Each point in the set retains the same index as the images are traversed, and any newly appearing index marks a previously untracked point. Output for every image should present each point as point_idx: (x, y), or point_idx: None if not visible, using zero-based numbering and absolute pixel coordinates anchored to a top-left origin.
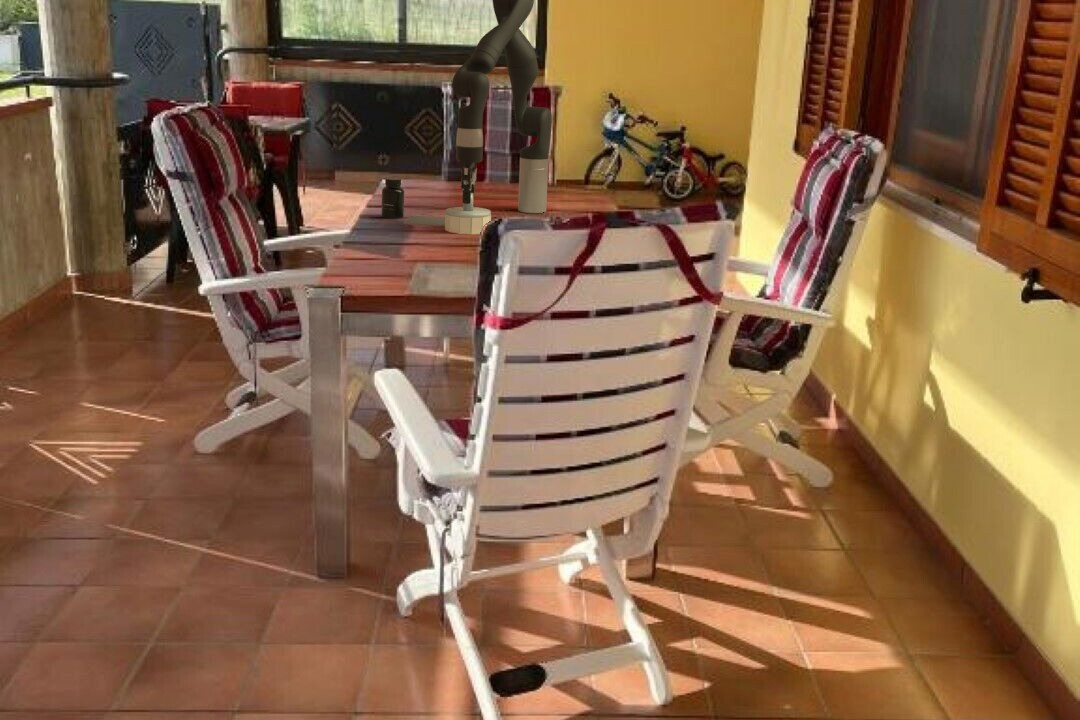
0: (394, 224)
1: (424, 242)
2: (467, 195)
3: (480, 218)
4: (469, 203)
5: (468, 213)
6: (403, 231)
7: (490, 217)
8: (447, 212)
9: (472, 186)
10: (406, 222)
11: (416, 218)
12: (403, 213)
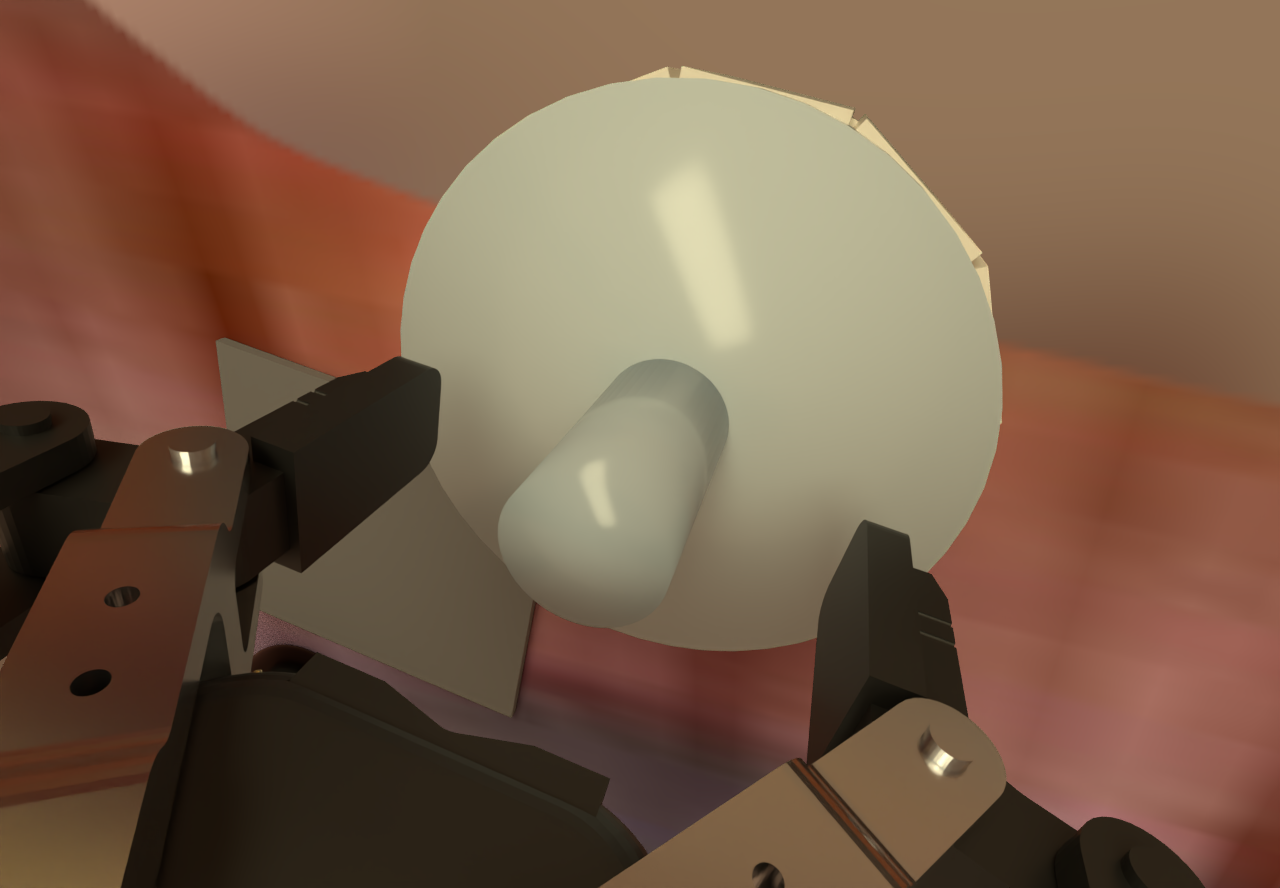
0: (499, 738)
1: (1212, 785)
2: (948, 683)
3: (987, 291)
4: (900, 536)
5: (903, 469)
6: (726, 765)
7: (763, 86)
8: (742, 643)
9: (281, 480)
10: (466, 686)
11: (320, 599)
12: (291, 672)
